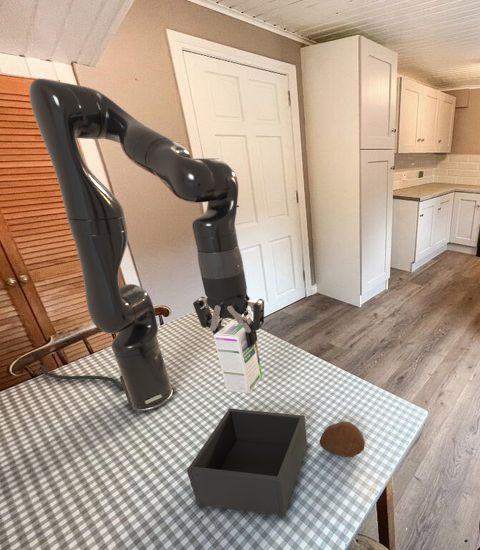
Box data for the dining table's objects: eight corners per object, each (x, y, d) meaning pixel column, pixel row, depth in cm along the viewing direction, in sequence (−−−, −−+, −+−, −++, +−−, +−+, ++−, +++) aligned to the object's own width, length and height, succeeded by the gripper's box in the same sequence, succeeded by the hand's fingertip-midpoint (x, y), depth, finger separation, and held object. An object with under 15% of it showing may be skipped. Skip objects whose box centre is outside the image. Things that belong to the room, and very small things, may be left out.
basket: (197, 505, 58) (186, 470, 55) (235, 439, 72) (229, 408, 68) (285, 516, 57) (279, 481, 53) (307, 447, 70) (304, 415, 67)
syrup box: (249, 394, 65) (239, 337, 59) (225, 390, 66) (212, 333, 60) (263, 376, 70) (254, 322, 65) (239, 373, 71) (229, 319, 66)
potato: (324, 432, 74) (323, 411, 71) (366, 437, 73) (367, 415, 70) (316, 459, 67) (315, 436, 65) (363, 465, 66) (363, 441, 64)
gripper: (266, 264, 61) (276, 336, 67) (199, 262, 62) (214, 333, 68) (249, 278, 54) (262, 357, 60) (173, 276, 55) (193, 353, 61)
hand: (236, 343), depth 64 cm, fingers closed on syrup box, 6 cm apart
